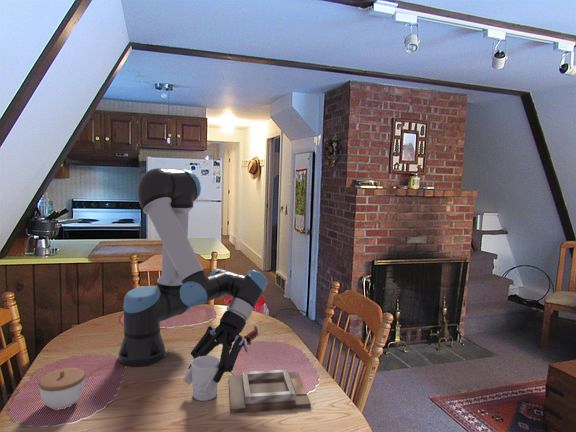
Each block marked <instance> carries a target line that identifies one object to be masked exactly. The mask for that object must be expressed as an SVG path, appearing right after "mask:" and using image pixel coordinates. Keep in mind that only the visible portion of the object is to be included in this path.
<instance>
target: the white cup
mask: <svg viewBox="0 0 576 432" xmlns="http://www.w3.org/2000/svg"><path fill="white" fill-rule="evenodd" d="M219 362H220V358H217V357H216V356H213V355H206V356H199V357H197V358H195V359H194V358H192V360H191V361H190V364H191V370H192V381H191V384H192V386H191V387H192V395H193V398H194V399H195V400H197V401H201V402H207V401H210V400H213V399H214V398H216V396H217V395H218V385H219V382H218V383H216V385H215V387H214V388H213V390H212V392H211V394H208V393H207V392H205V391H204V390H203V389H204V388H205V386H206V384H207V382H208V380H209V379H210V377H211V375H212V373H213V371H214V370H215V368H217V366H219ZM218 369H219V368H218Z"/></svg>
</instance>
